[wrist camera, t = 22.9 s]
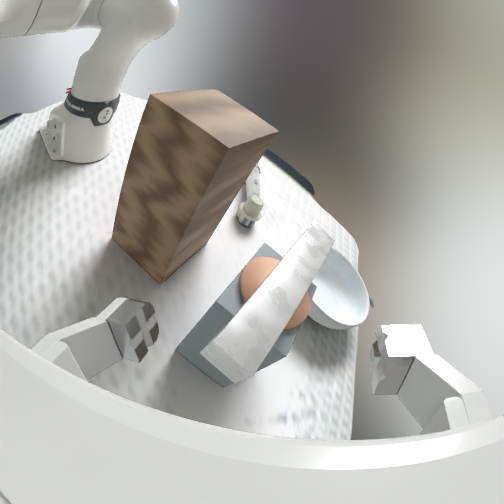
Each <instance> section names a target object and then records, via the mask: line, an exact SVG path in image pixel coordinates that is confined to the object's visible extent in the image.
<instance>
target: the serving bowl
mask: <svg viewBox="0 0 504 504" xmlns="http://www.w3.org/2000/svg"><path fill="white" fill-rule="evenodd" d="M312 283H313V284H314V285H316V286H317V288H316V291H315V293H314V296H313V298H312V300H311V303H310V311H309V314H308V316H309V317H311V318H312V319H313V320H314V321H316V322H317V323H319V324H321V325H323V326H325V327H328V328H331V329H338V330H343V329H349V328H352V327H355V326H357V325H360V324H361V323H362V322H364V320H365V319H366V318H367V315H368V312H369V296H368V292H367V290H366V287H365V284H364V282H363V280H362V278H361V276H360V275H359V273H358V272H357V270H356V269H355V267H354V266H353V265H352V264H351V263H350V262H349V261H348V259H347V258H345V257H344V256H343V255H342V254H341V253H340V252H338V251H337V250H335V249H334V248H332V247H331V249H330V251H329V253H328V254H327V256H326V258H325V260H324V262H323V263H322V265H321V267H320V269H319V271H318V272H317V274H316V276H315V278H314V279H313V281H312Z"/></svg>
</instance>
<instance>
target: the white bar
mask: <svg viewBox="0 0 504 504" xmlns="http://www.w3.org/2000/svg"><path fill="white" fill-rule="evenodd" d="M334 242H335V241H334V240H333V239H332V238H331V237H330V236H329V235H328V234H327V233H326V232H325V231H324V230H323V229H321V228H320V227H319V226H318V225H317V224H316V223H315V222H313V223H312V224H311V225H310V226H309V227H308V229H307V230H306V231H305V232H304V233H303V234H302V235H301V236H300V237H299V239H298V240H297V241H296V242H295V243H294V245H293V246H292V247H291V248H290V249H289V251H288V252H287V253H286V254H285V255H284V257H283V258H282V259H281V260H280V261H279V263H278V264H277V265H276V266H275V267H274V268H273V270H272V271H271V272H270V273H269V274H268V276H267V277H266V278H265V279H264V280H263V281H262V283H261V284H260V285H259V286H258V287H257V288H256V290H255V291H254V292H253V293H252V294H251V295H250V297H249V298H248V299H247V300H246V301H245V302H244V303H243V305H242V306H241V307H240V308H239V309H238V310H237V311H236V313H235V314H234V315H233V316H232V317H231V318H230V319H229V321H228V322H227V323H226V324H225V325H224V326H223V327H222V329H221V330H220V331H219V332H218V333H217V334H216V335H215V336H214V338H213V339H212V340H211V341H210V342H209V343H208V344H207V345H206V347H205V348H204V349H203V350H202V351H201V352H200V354H201V355H202V356H203V357H205V358H206V359H207V360H208V361H209V362H210V363H211V364H212V365H214V366H215V367H216V368H217V369H218V370H219V371H221V372H222V373H223V374H224V375H225V376H227V377H228V378H229V379H230V380H231V381H233V382H234V383H235V384H237V383H239V382H241V381H243V380H245V379H248V378H250V377H252V376H253V375H254V374H255V372H256V371H257V369H258V368H259V366H260V365H261V363H262V362H263V360H264V359H265V357H266V356H267V354H268V353H269V351H270V350H271V348H272V346H273V345H274V343H275V342H276V340H277V339H278V337H279V336H280V334H281V332H282V331H283V329H284V328H285V326H286V324H287V323H288V321H289V320H290V318H291V316H292V315H293V313H294V311H295V310H296V308H297V306H298V305H299V303H300V301H301V300H302V298H303V296H304V295H305V293H306V291H307V290H308V288H309V286H310V284H311V283H312V281H313V279H314V278H315V276H316V274H317V272H318V271H319V269H320V267H321V265H322V263H323V262H324V260H325V258H326V256H327V254H328V253H329V251H330V249H331V247H332V245H333V243H334Z"/></svg>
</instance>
